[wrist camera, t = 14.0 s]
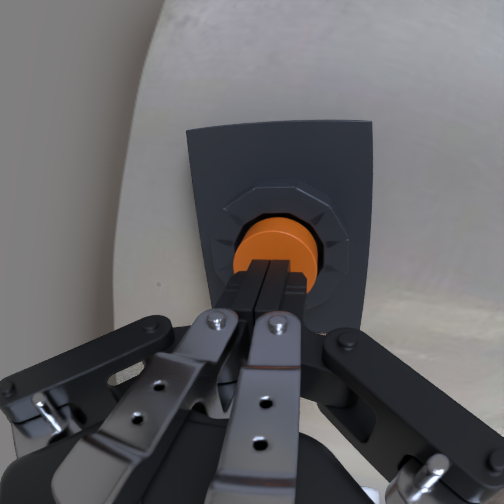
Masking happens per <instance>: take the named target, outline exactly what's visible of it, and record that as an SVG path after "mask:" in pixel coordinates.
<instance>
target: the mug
mask: <svg viewBox="0 0 504 504" xmlns="http://www.w3.org/2000/svg"><path fill="white" fill-rule="evenodd" d="M361 488H362V489H363V490H364V491H365V492H366V494H367V495H368V496H369V497H370V498H371V499H372V500H373V502H374V503H375V504H379V492H378V491H377V490H376V489H373V488H369V487H361Z"/></svg>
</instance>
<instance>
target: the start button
mask: <svg viewBox="0 0 504 504" xmlns="http://www.w3.org/2000/svg"><path fill="white" fill-rule="evenodd" d="M252 259H270V260H272V259H275V260H290V265H291V272H303V274H304V275H305V277H306V278H307V293H308V292H309V291H310V290H311V289H312V287H313V285H314V283H315V281H316V277H317V262H318V251H317V245H316V242H315V240H314V238H313V236H312V235H311V233H310V232H309V231H308V230H307V229H306V228H305V227H304V226H303V225H301V224H300V223H298V222H296V221H294V220H291V219H288V218H283V217H272V218H267V219H264V220H261V221H259V222H258V223H256V224H255V225H253V226H252V227H251V228H250V229H249V230H248V232H247V233H246V235H245V237H244V238H243V240H242V242H241V243H240V245H239V247H238V249H237V250H236V253H235V255H234V260H233V270H234V274H235V273H237V272H238V271H247V269H248V267H249V265H250V263H251V261H252Z"/></svg>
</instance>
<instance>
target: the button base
mask: <svg viewBox="0 0 504 504" xmlns="http://www.w3.org/2000/svg"><path fill="white" fill-rule="evenodd" d="M186 135H187V144H188V152H189V160H190V168H191V176H192V183H193V191H194V198H195V205H196V212H197V219H198V226H199V232H200V239H201V245H202V251H203V257H204V263H205V269H206V275H207V281H208V287H209V293H210V298H211V304H212V309H213V308H215V306H216V304H217V302H218V300H219V298H220V296H221V294H222V292H224V289H225V287H226V286H227V283H228V281H229V279H230V277H231V276H233V275H234V270H233V260H234V255H235V253H236V250H237V249H238V247H239V245H240V243H241V242H242V240H243V238H244V237H245V235H246V233H247V232H248V230H249V229H250V228H251V227H252V226H253V225H255V224H256V223H258V222H259V221H261V220H264V219H267V218H272V217H283V218H288V219H291V220H294V221H296V222H298V223H300V224H301V225H303V226H304V227H305V228H306V229H307V230H308V231H309V232H310V233H311V235H312V236H313V238H314V240H315V242H316V245H317V251H318V262H317V277H316V281H315V283H314V285H313V287H312V289H311V290H310V291H309V292H308V293H307V313H306V323H305V326H306V327H307V328H308V329H309V330H311V331H312V332H314V333H329V332H330V331H332V330H334V329H337V328H343V327H348V328H355V329H358V330H360V325H361V318H362V311H363V303H364V295H365V287H366V278H367V268H368V257H369V245H370V231H371V214H372V186H373V135H372V121H364V120H292V121H271V122H256V123H243V124H232V125H222V126H213V127H205V128H198V129H192V130H187V131H186Z"/></svg>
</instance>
